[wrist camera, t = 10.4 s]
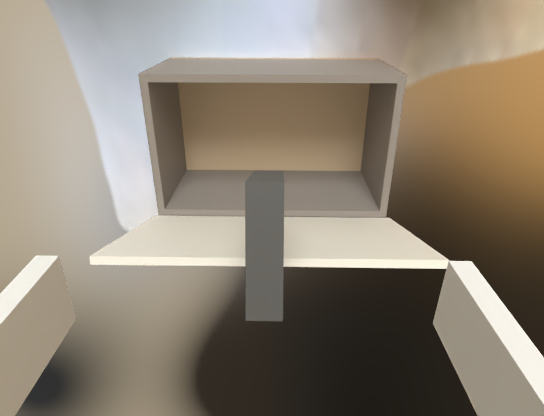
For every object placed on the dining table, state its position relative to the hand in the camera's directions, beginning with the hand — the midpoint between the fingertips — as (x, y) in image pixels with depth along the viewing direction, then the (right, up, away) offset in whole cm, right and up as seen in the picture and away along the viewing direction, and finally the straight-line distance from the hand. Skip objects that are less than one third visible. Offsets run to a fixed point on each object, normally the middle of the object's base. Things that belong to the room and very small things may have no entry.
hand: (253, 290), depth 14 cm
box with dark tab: (0, +5, +12) cm, 13 cm away
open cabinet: (+1, +12, +28) cm, 30 cm away
